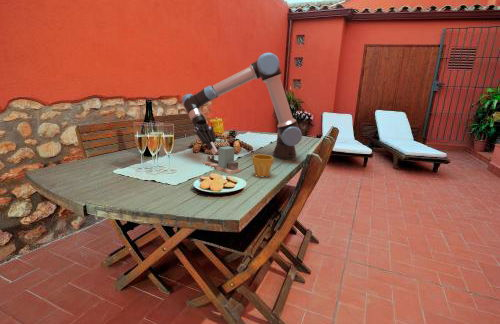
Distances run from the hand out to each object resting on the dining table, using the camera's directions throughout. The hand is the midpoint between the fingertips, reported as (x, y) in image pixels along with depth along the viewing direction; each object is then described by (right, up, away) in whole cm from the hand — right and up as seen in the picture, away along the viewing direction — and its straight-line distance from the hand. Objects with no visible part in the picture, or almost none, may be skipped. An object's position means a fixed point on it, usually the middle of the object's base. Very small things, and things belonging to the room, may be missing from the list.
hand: (215, 153), depth 153 cm
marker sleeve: (+6, -7, -4) cm, 10 cm away
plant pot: (+24, -12, -10) cm, 29 cm away
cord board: (+3, -8, -2) cm, 9 cm away
